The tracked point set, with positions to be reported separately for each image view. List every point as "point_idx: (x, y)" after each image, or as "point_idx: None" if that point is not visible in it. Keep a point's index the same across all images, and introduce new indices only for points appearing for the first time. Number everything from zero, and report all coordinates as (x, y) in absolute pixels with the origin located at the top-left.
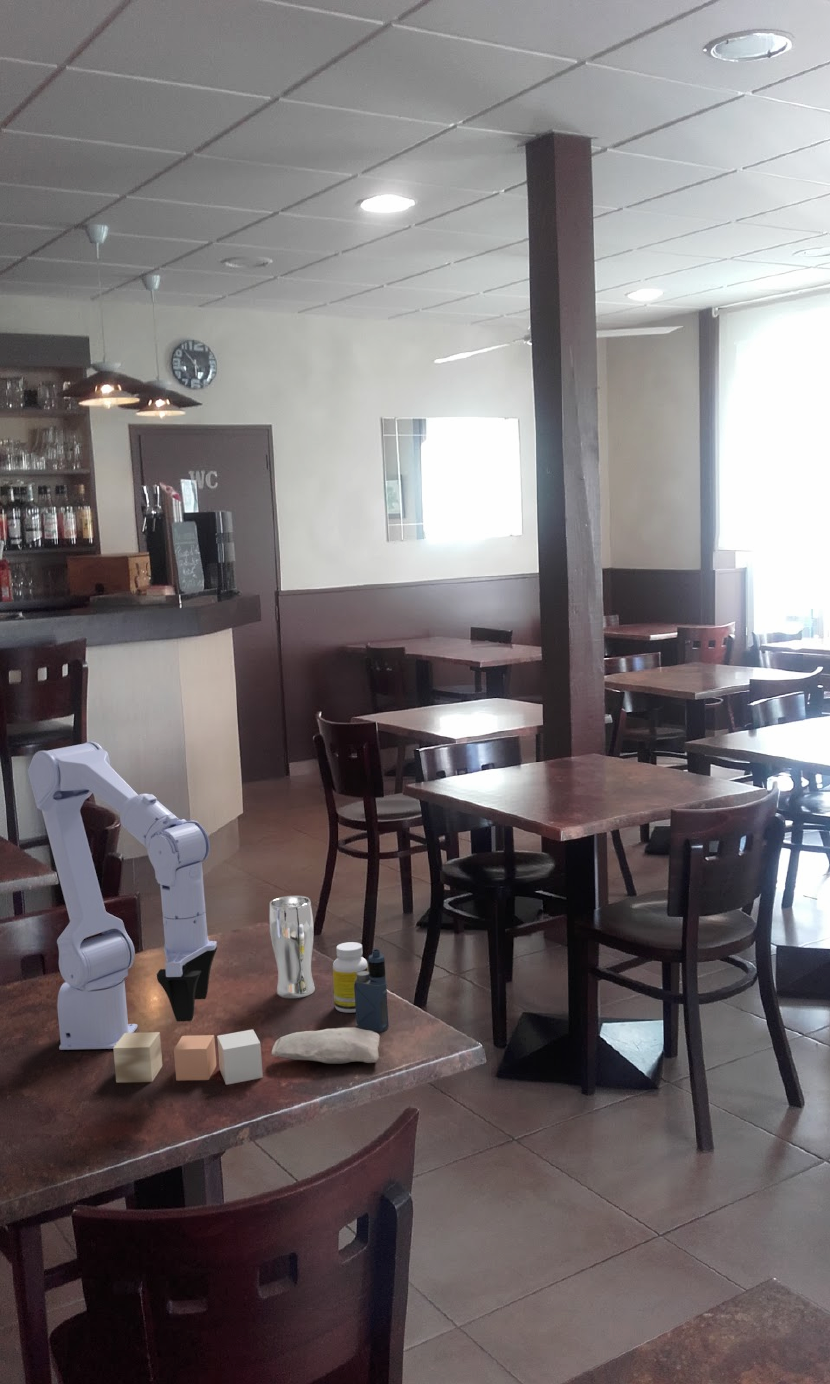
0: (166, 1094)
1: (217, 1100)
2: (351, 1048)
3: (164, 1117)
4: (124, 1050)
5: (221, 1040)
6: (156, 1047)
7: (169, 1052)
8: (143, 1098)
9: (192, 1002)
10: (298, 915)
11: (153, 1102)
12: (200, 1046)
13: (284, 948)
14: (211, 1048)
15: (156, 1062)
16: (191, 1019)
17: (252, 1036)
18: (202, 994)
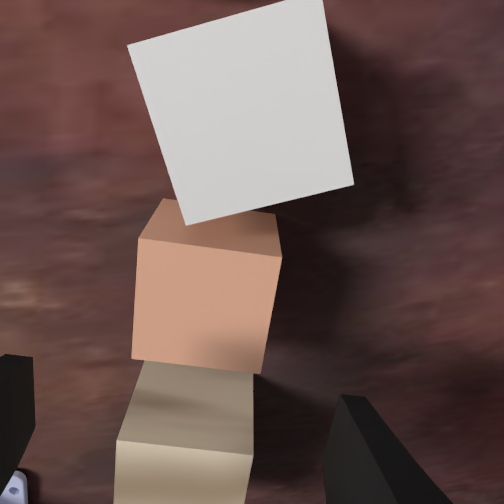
0: (346, 327)
1: (439, 172)
2: None
3: (496, 315)
4: None
5: (244, 202)
6: (176, 419)
7: (47, 351)
8: (354, 380)
9: (433, 484)
10: None
11: (388, 353)
12: (253, 283)
13: None
14: (205, 234)
15: (195, 389)
16: (367, 402)
17: (224, 43)
18: (18, 389)
